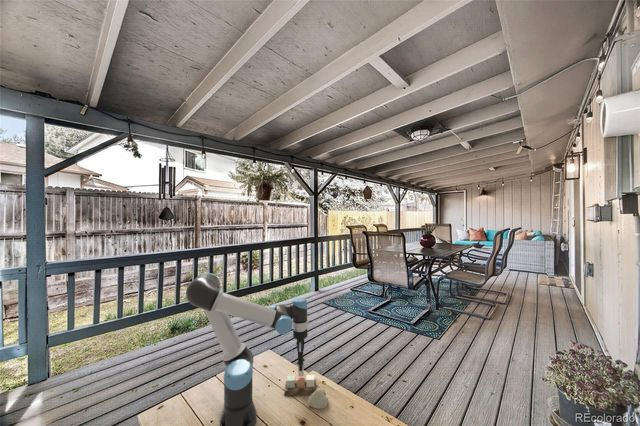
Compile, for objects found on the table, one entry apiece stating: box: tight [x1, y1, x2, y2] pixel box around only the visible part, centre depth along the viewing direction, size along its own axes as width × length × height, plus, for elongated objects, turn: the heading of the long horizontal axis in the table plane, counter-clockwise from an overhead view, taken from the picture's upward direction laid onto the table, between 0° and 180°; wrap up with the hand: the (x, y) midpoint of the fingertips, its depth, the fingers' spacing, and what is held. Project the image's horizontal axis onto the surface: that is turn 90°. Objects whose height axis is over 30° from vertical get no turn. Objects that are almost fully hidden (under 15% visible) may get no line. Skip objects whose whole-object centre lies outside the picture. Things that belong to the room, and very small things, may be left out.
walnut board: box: [283, 379, 317, 396], centre depth 125 cm, size 16×8×2 cm, turn 92°
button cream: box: [305, 374, 315, 388], centre depth 125 cm, size 4×4×4 cm
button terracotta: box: [296, 374, 306, 388], centre depth 125 cm, size 4×4×4 cm
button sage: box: [286, 374, 296, 389], centre depth 125 cm, size 4×4×4 cm
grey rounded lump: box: [307, 387, 329, 410], centre depth 115 cm, size 8×8×8 cm
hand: (301, 375), depth 125 cm, fingers closed
